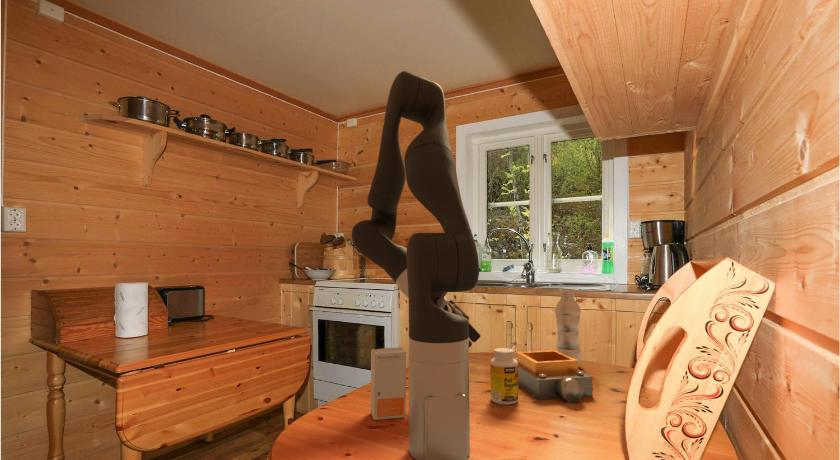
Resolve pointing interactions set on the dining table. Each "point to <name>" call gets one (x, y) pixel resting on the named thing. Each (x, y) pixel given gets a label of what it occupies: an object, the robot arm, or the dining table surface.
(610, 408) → the dining table surface
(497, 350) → the supplement bottle
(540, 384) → the gearbox housing
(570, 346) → the plastic bottle
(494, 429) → the dining table surface
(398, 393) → the skincare box
